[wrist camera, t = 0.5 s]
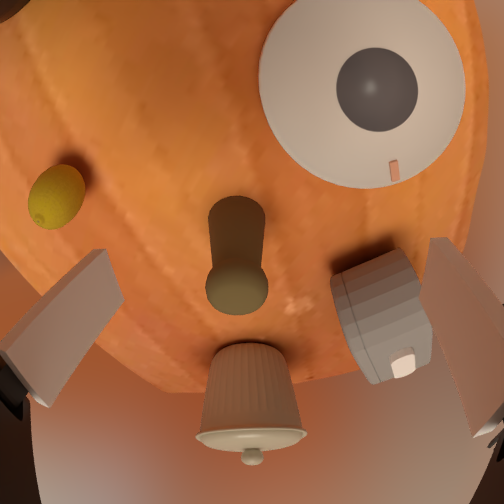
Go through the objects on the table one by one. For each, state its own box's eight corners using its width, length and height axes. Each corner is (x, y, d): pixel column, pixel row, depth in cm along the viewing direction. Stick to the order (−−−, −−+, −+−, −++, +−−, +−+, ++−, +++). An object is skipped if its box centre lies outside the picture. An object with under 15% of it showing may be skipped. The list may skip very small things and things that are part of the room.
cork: (234, 184, 28) (233, 267, 20) (277, 218, 31) (290, 301, 23) (196, 221, 31) (184, 306, 23) (238, 249, 34) (240, 332, 26)
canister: (267, 377, 61) (274, 468, 45) (188, 364, 55) (183, 465, 39) (315, 340, 50) (333, 454, 34) (219, 320, 44) (218, 458, 29)
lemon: (57, 194, 27) (23, 241, 21) (51, 150, 23) (9, 192, 17) (98, 199, 28) (68, 249, 22) (95, 152, 24) (57, 197, 19)
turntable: (219, 17, 16) (217, 15, 14) (428, -21, 11) (443, -22, 10) (300, 201, 27) (304, 215, 26) (458, 152, 23) (470, 162, 21)
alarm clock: (320, 257, 35) (346, 355, 26) (390, 227, 32) (437, 318, 23) (357, 328, 48) (375, 398, 38) (406, 308, 45) (431, 376, 35)
